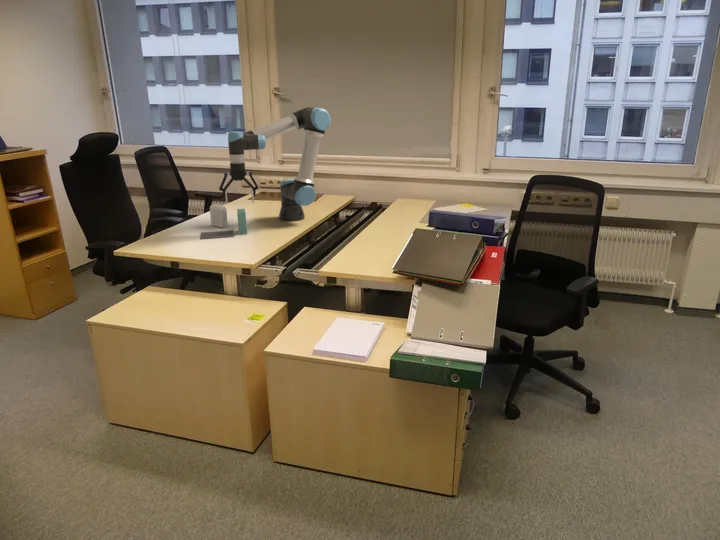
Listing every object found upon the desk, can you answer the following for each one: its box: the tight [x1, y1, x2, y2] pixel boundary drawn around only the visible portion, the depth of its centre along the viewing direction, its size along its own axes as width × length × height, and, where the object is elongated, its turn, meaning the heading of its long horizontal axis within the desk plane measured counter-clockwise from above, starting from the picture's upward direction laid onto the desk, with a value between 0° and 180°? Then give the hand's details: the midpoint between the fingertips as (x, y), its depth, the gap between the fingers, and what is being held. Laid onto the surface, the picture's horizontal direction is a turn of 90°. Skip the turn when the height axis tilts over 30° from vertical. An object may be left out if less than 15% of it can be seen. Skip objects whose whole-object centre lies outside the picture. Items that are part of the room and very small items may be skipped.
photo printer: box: [209, 203, 229, 228], centre depth 296 cm, size 10×4×12 cm, turn 60°
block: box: [236, 208, 248, 235], centre depth 283 cm, size 4×9×12 cm, turn 15°
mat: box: [199, 230, 235, 240], centre depth 280 cm, size 17×13×1 cm
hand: (240, 203), depth 279 cm, fingers open, 13 cm apart
